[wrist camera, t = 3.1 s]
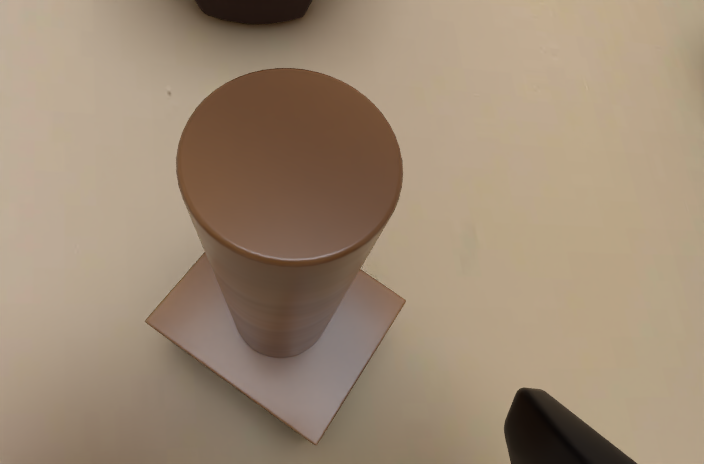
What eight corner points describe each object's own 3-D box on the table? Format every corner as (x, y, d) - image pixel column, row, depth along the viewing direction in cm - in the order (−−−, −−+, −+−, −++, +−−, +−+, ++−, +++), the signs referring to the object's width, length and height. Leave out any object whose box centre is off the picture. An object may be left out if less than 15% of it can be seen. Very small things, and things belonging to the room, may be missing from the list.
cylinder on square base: (306, 440, 16) (394, 500, 5) (172, 341, 17) (-69, 164, 5) (380, 323, 18) (577, 151, 6) (257, 238, 19) (229, -68, 7)
